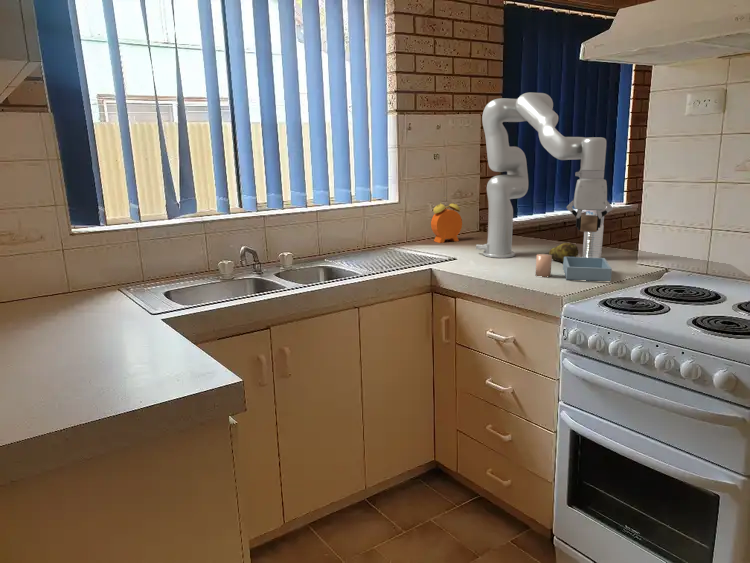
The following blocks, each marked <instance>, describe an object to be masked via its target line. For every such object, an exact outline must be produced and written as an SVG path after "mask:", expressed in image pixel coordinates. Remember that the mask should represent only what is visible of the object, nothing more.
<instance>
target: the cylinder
mask: <svg viewBox="0 0 750 563" xmlns="http://www.w3.org/2000/svg"><path fill="white" fill-rule="evenodd" d="M535 259H536V261H535V273H534V274H535V276H536V275H537V276H542V277H541V278H548V277H547V276H550V277H551V275H552V273H551V272H552V264H553V263H552V262H553V259H552V255H549V253H548V254H545V253H537V254H536V258H535ZM537 276H536V277H537Z"/></svg>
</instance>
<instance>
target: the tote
mask: <svg viewBox="0 0 750 563" xmlns="http://www.w3.org/2000/svg"><path fill="white" fill-rule="evenodd" d="M562 265H563V266H562V270H564V271H563V274H564V273H565V274H564V277H565V280H586V281H585V282H589V281H612V271H613V268H612V267H611V265H610V263H609V262H608V261H607V259H606V258H605V257H601V258H589V257H583V256H577V257H564V262H562Z"/></svg>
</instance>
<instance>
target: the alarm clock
mask: <svg viewBox="0 0 750 563" xmlns="http://www.w3.org/2000/svg"><path fill="white" fill-rule="evenodd" d="M443 198H448V197H443ZM449 208H450V209H449ZM432 211H433V216H432V218H431V222H430V227H431V230H432V233H433V235H435V238H434V239H433V241H434V242H436V243H439V244H443V243H445V241H446V240H449V241H452V242H459V241H460V240H459V238H458V235H459V234H460V233H461V230H462V228H463V219H462V217H461V215H460V213H459V212H461V207H460V206H459V205H458V204H457V203H449V205H448V206H445V204H443V203H439V204H436V206H435V207H433V210H432Z"/></svg>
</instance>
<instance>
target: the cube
mask: <svg viewBox="0 0 750 563" xmlns="http://www.w3.org/2000/svg"><path fill="white" fill-rule="evenodd" d="M597 219H598V217H597V216H596V215H586V214H581V229H580V230H579V232H583V233H584V232H596V231H597Z"/></svg>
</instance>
